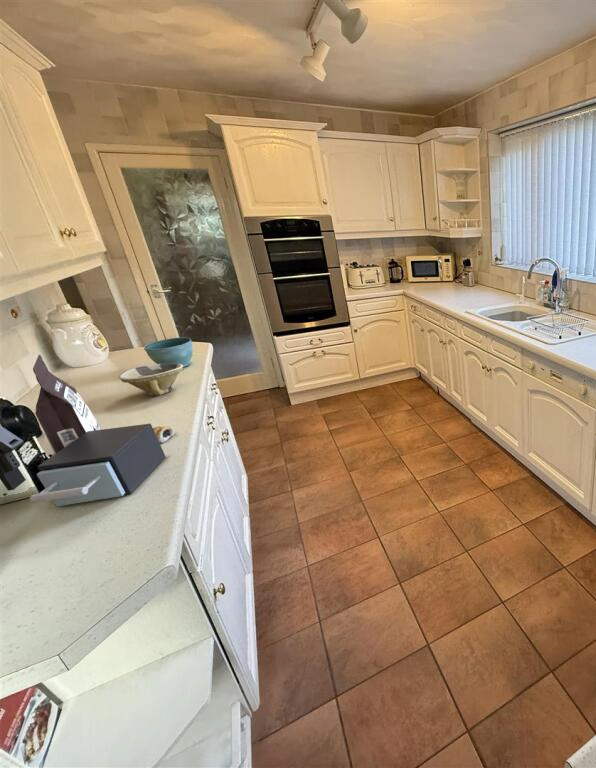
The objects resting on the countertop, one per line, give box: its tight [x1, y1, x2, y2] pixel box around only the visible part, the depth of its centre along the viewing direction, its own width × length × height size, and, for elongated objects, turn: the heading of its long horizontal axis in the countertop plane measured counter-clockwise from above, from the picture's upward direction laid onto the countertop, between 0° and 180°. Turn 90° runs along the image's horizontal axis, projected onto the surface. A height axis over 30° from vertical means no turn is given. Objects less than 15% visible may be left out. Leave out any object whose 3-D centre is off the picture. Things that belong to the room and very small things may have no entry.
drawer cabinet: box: [37, 423, 167, 496], centre depth 97 cm, size 16×14×11 cm
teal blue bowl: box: [143, 337, 194, 368], centre depth 172 cm, size 16×16×11 cm
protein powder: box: [32, 354, 102, 455], centre depth 104 cm, size 16×9×28 cm, turn 44°
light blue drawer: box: [29, 460, 125, 507], centre depth 92 cm, size 21×13×9 cm, turn 15°
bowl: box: [118, 363, 184, 397], centre depth 147 cm, size 18×18×10 cm
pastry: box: [152, 425, 176, 444], centre depth 116 cm, size 9×7×4 cm
